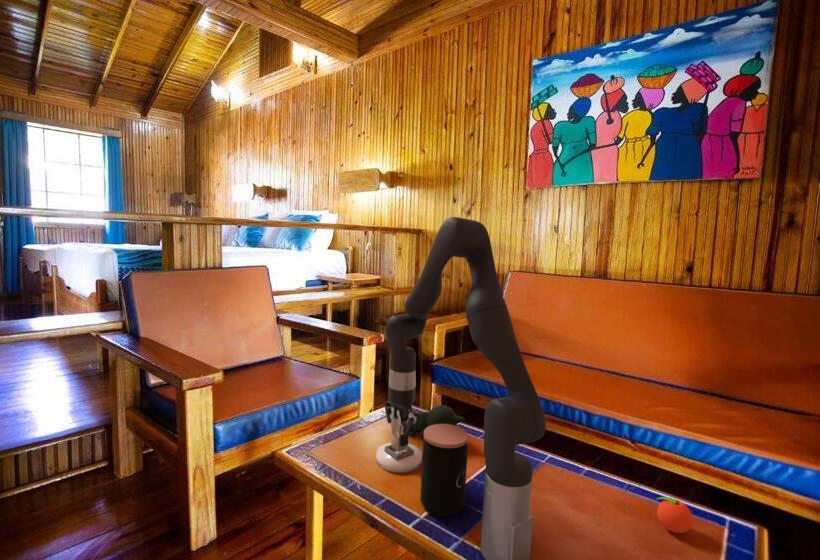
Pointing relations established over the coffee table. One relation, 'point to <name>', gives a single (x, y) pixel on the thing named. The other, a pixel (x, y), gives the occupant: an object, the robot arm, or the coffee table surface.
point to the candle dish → (398, 458)
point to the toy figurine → (436, 418)
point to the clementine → (674, 515)
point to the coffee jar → (444, 469)
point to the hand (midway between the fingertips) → (399, 442)
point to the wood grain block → (397, 436)
